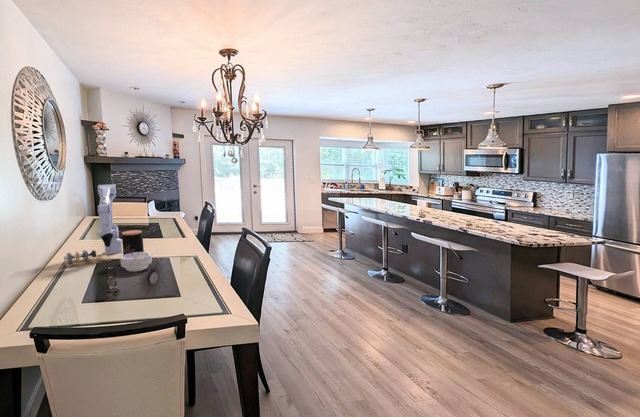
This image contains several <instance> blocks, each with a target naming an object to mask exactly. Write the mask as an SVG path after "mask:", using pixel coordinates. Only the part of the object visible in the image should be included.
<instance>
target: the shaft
mask: <svg viewBox="0 0 640 417" xmlns="http://www.w3.org/2000/svg"><path fill="white" fill-rule="evenodd" d="M71 255H72V260H76V258H77V255H76V254H71ZM96 256H97V251H96V250H95V249H93V250H91V252H88V257H96ZM83 257H84V254H83V253H79V259H82V258H83ZM63 259H64V261H67V260H68V256H67V255H66V256H63Z"/></svg>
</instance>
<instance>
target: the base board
mask: <svg viewBox="0 0 640 417" xmlns="http://www.w3.org/2000/svg"><path fill="white" fill-rule="evenodd" d="M79 259H80V262H77V261H76V259H72V264H69V263H68V262H67V260H64V261H63V263H64V265H65V267H66V268H68V269H69V268H75V267H77V268H78V267H82V266H87V265H95V264H100V263H106V262H112V257H110V256H109V255H106V254H102V255H96V257H92V256H88V260H89V261H85V260H83V257H81V258H79Z"/></svg>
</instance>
